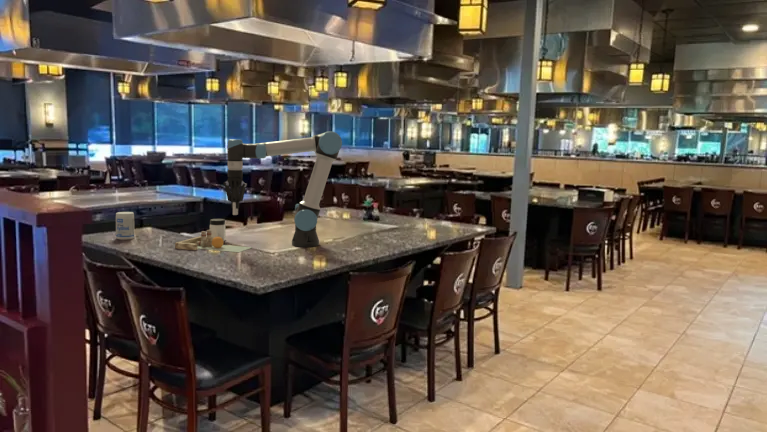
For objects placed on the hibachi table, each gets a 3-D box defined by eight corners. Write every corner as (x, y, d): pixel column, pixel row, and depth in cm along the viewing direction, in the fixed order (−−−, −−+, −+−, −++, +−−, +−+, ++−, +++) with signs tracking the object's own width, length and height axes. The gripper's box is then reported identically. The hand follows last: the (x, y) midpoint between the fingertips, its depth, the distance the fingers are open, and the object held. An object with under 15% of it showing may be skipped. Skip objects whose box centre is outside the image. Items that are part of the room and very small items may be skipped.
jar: (212, 242, 319) (211, 221, 317) (207, 240, 325) (207, 219, 324) (227, 241, 323) (227, 220, 322) (223, 238, 330) (223, 218, 329)
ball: (213, 241, 307) (221, 248, 306) (207, 244, 301) (216, 251, 301) (218, 233, 305) (227, 240, 305) (213, 236, 299) (222, 243, 299)
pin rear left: (207, 247, 304) (207, 231, 303) (204, 247, 302) (204, 232, 301) (203, 246, 305) (202, 231, 304) (200, 247, 303) (200, 231, 302)
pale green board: (252, 247, 306) (252, 247, 306) (238, 252, 293) (238, 252, 293) (200, 243, 315) (200, 242, 315) (184, 247, 302) (184, 247, 302)
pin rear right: (212, 245, 309) (212, 230, 308) (209, 246, 307) (209, 230, 306) (208, 245, 310) (208, 229, 309) (205, 245, 308) (205, 230, 306)
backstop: (218, 243, 316) (218, 237, 316) (195, 250, 295) (195, 244, 295) (199, 241, 320) (199, 236, 319) (175, 248, 299) (175, 242, 298)
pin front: (213, 242, 307) (199, 241, 309) (210, 242, 304) (196, 240, 306) (212, 247, 306) (198, 245, 308) (210, 246, 304) (195, 245, 306)
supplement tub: (115, 240, 316) (114, 214, 314) (116, 237, 325) (115, 211, 323) (134, 239, 320) (134, 213, 318) (134, 236, 329) (134, 211, 327)
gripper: (220, 169, 294) (220, 214, 297) (242, 170, 290) (242, 216, 293) (227, 168, 301) (228, 213, 304) (250, 169, 297) (250, 214, 301)
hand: (235, 214), depth 299 cm, fingers closed
